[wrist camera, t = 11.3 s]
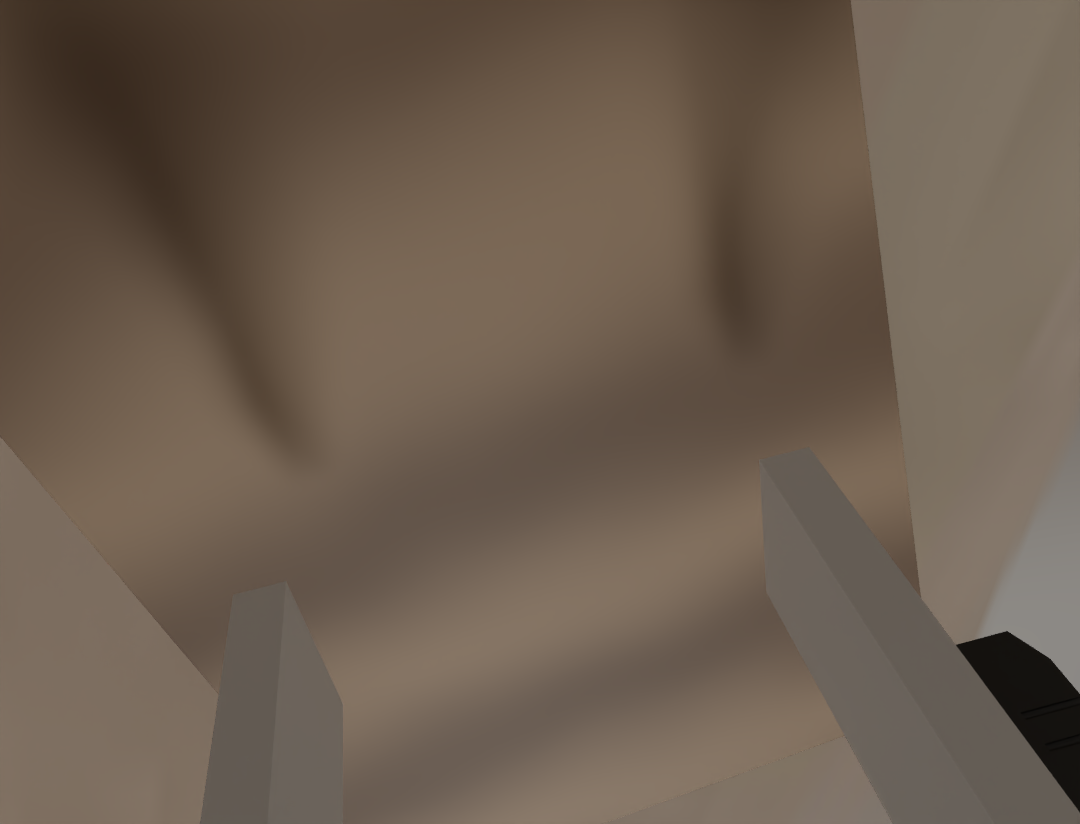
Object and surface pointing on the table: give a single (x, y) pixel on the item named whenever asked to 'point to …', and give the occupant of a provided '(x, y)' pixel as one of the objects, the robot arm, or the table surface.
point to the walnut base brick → (458, 360)
